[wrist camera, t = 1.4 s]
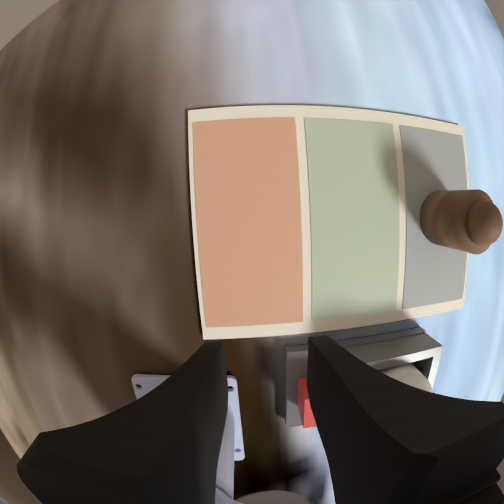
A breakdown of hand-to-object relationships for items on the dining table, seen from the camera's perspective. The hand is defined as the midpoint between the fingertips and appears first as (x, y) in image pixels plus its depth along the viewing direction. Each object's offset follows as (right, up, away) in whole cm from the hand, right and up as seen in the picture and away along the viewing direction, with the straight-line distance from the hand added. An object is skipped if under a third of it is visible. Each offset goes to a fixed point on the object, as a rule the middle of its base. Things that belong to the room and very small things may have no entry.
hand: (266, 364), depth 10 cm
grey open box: (+7, -6, +11) cm, 14 cm away
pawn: (+13, +6, +9) cm, 17 cm away
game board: (+6, +6, +9) cm, 12 cm away
